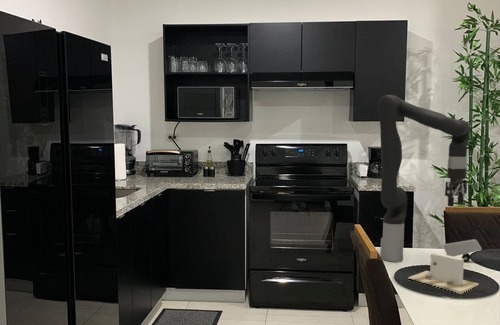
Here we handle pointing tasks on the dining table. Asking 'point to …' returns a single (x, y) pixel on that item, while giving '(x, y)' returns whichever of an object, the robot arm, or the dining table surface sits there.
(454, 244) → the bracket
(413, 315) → the dining table surface
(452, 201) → the robot arm
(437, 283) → the light brown flat board
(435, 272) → the door panel
